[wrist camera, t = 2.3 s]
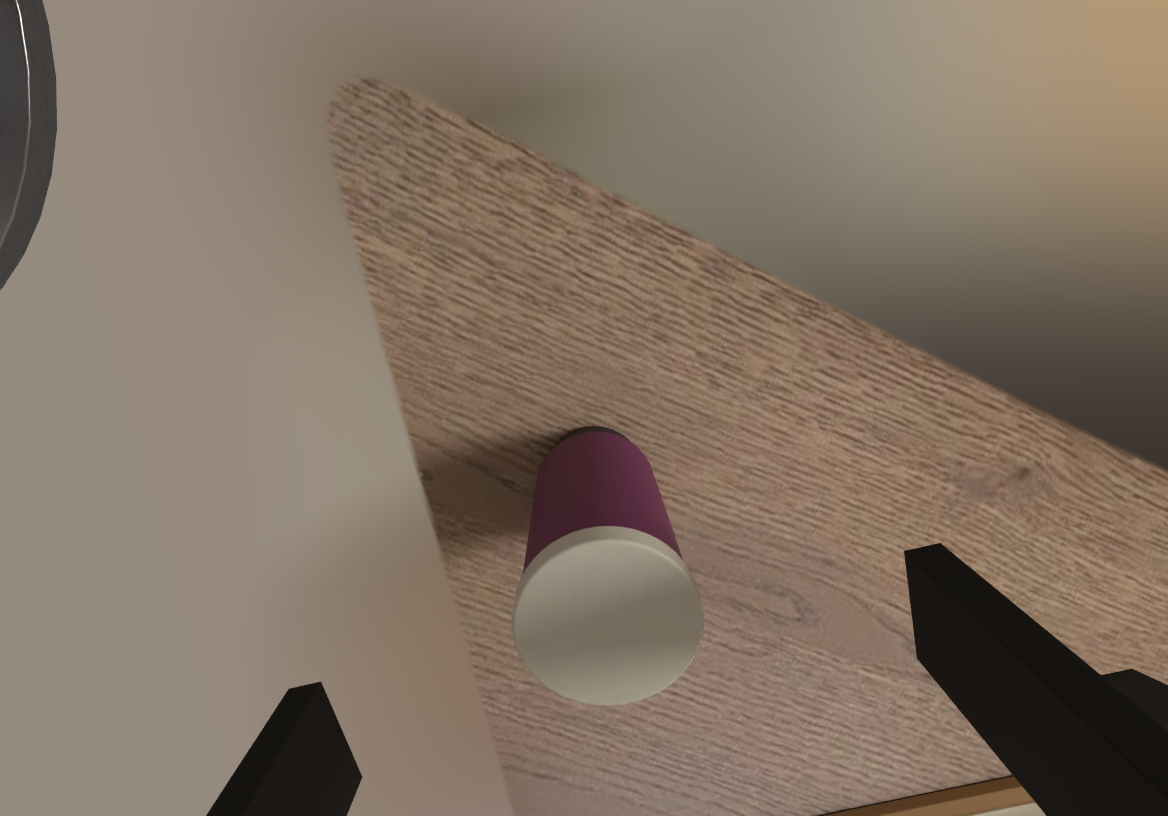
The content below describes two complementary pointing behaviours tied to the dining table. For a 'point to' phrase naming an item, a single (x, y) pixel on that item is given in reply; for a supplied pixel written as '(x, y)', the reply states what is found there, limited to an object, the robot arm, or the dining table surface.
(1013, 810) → the sketch board
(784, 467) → the dining table surface
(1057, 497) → the dining table surface
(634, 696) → the cylinder
